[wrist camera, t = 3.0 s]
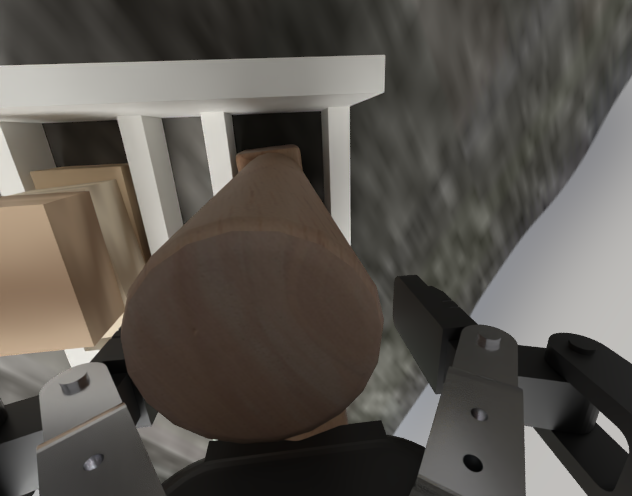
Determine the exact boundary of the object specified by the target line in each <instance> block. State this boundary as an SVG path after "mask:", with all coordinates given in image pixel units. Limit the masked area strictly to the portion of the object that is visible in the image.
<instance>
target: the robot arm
mask: <svg viewBox="0 0 632 496" xmlns="http://www.w3.org/2000/svg"><path fill="white" fill-rule="evenodd" d="M393 320H394V324H395V327H396V329H397V331H398V333H399V334H400V336H401V338H402V339H403V341H404V343H405V344H406V346H407V348H408V349H409V351H410V353H411V354H412V356H413V358H414V359H415V361H416V363H417V364H418V366H419V368H420V369H421V371H422V373H423V374H424V376H425V377H426V379H427V381H428V382H429V384H430V386H431V387H432V389H433V391H434V392H435V394H441V396H440V400H439V403H438V407H437V411H436V414H435V418H434V421H433V424H432V428H431V431H430V435H429V438H428V442H427V445H426V448H425V447H423V446H421V445H419V444H417V443H414V442H412V441H409V440H407V439H404V438H400V437H396V436H391V435H386V432H385V430H384V427H383V424H382V421H381V420H379V421H371V422H363V423H355V424H347V425H340V426H337V427H334V428H332V429H329V430H326V431H324V432H321V433H319V434H316V435H313V436H311V437H308V438H305V439H303V440H299V441H291V440H281V441H276V442H262V443H248V444H240V443H234V442H228V441H221V440H216V441H209V444H208V448H207V453H206V457H205V458H203V459H201V460H198V461H196V462H194V463H192V464H190V465H188V466H186V467H185V468H183V469H181V470H180V471H178V472H177V473H175V474H174V475H173V476H171V477H170V478H168V479H167V480H166V481H165V482H163V483H162V484H161V483H160V480H159V478H158V476H157V474H156V471H155V469H154V467H153V465H152V462H151V460H150V458H149V456H148V453H147V451H146V449H145V447H144V445H143V442H142V440H141V438H140V436H139V433H138V431H137V429H136V428H141V427H149V426H152V424H153V422H154V420H155V417H156V415H157V413H158V411H157V410H155V409H154V408H153V407H152V406H150V405H149V404H148V403H147V402H146V401H145V399H144V398H143V396H142V395H141V393H140V391H139V390H138V388H137V387H136V385H135V384H134V382H133V381H132V379H131V378H130V376H129V374H128V372H127V368H126V363H125V358H124V353H123V348H122V343H121V326H120V328H119V330H118V331H116V332H115V333H114V335H113V336H112V339H109V340H108V341H107V343H106V344H105V345H104V346H103V347H102V348H101V350H100V351H99V352H98V353H97V354H96V355H95V357H94V358H93V359H92V360H91V361H90V362H89V363H85V364H81V365H77V366H74V367H72V368H69V369H67V370H65V371H63V372H61V373H60V374H58V375H56V376H55V377H53V378H52V379H51V380H49V381H48V382H47V383H46V384H45V385H44V386H43V388H42V389H41V391H40V393H39V395H38V396H35V397H31V398H28V399H24V400H21V401H18V402H14V403H11V404H8V405H4V404H3V402H2V400H1V398H0V496H32V495H33V494H34V492H35V490H37V489H39V494H40V496H526V495H525V494H526V493H525V447H524V425H525V426H531V427H533V428H534V429H535V430H536V431H537V433H538V434H539V435H540V436H541V438H542V439H543V440H544V441H545V443H546V444H547V445H548V446H549V448H550V449H551V450H552V451H553V453H554V454H555V455H556V456H557V458H558V459H559V460H560V461H561V463H562V464H563V465H564V466H565V468H566V469H567V470H568V471H569V473H570V474H571V475H572V476H573V478H574V479H575V480H576V481H577V483H578V484H579V485H580V486H581V488H582V489H583V490H584V491H585V493H586V494H587V495H588V496H632V364H631V363H630V362H628V361H627V360H625V359H624V358H622V357H621V356H619V355H618V354H616V353H615V352H614V351H612V350H610V349H609V348H608V347H606V346H605V345H603V344H601V343H599V342H597V341H595V340H592V339H590V338H587V337H584V336H581V335H577V334H571V333H556V334H553V335H551V336H550V337H549V340H548V344H547V348H540V347H531V346H521V345H518V344H517V342H516V340H515V339H514V338H513V337H512V336H511V335H509V334H508V333H506V332H504V331H502V330H500V329H498V328H495V327H491V326H487V325H478V324H477V323H476V322H475V321H474V320H473V319H471V317H469V316H468V315H467V314H466V313H465V312H464V311H463V310H462V309H461V308H460V307H458V305H457V304H456V303H455V302H454V301H451V299H450V298H449V297H448V296H447V295H446V294H445V293H444V292H443V291H441V290H439V289H437V288H434V287H432V286H427V285H426V284H425V283H424V282H423V281H422V280H421V279H420V278H419V277H418V276H417V275H407V276H397V277H396V278H395V281H394V299H393ZM599 411H600V412H602V413H603V414H604V415H605V416H606V417H607V418H608V419H609V420H610V421H611V422H612V423H614V424H615V425H616V426H617V427H618V428H619V429H620V430H621V432H622V433H623V434H624V436H625V438H626V440H627V442H628V445H629V454H628V453H627V452H626V451H625V450H624V449H623V448H622V447H621V446H620V445H618V443H617V442H616V441H615V440H613V439H612V438H611V437H610V436H609V435H608V434H607V433H606V432H605V431H604V430H603V429H602V428H601V427H600V426H599V425H598V424H597V423H596V419H597V417H598V414H599Z"/></svg>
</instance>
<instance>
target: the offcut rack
mask: <svg viewBox="0 0 632 496" xmlns="http://www.w3.org/2000/svg"><path fill="white" fill-rule="evenodd" d="M384 84H385V55H361V56H325V57H290V58H254V59H219V60H183V61H148V62H112V63H77V64H41V65H6V66H0V192H1V195H2V196H8V195H13V194H17V193H22V192H26V191H31V190H36V188H35V185H34V183H33V180H32V177H31V174H30V172H31V171H38V170H44V169H51V168H56V165H55V162H54V159H53V156H52V153H51V150H50V147H49V144H48V141H47V138H46V135H45V132H44V129H43V126H42V123H61V122H84V121H107V120H118V124H119V128H120V132H121V136H122V140H123V144H124V148H125V152H126V156H127V160H128V164H129V168H130V172H131V176H132V180H133V184H134V188H135V192H136V196H137V200H138V204H139V208H140V212H141V216H142V220H143V224H144V228H145V232H146V236H147V240H148V244H149V248H150V252H151V256H152V255H153V254H154V253H155V252H156V251H157V250H158V249H159V248H160V247H161V246H162V245H163V244H164V243H165V242H166V241H167V240H169V239H170V238H171V237H172V236H173V235H174V234H175V233H176V232H177V231H178V230H179V229H180V228H181V227H182V226H183V221H182V216H181V211H180V206H179V202H178V197H177V192H176V187H175V182H174V177H173V172H172V167H171V162H170V158H169V153H168V148H167V143H166V138H165V133H164V128H163V123H162V119H161V118H175V117H198V116H201V121H202V127H203V133H204V139H205V145H206V151H207V157H208V163H209V170H210V176H211V182H212V188H213V194H214V196H215V195H216V194H217V193H218V192H219V191H220V190H221V189H222V188H223V187H224V186H225V185H226V184H227V183H228V182H229V181H230V180H231V179H232V178H234V177H235V176H236V175H237V174H238V169H237V164H236V154H237V153H236V145H235V137H234V130H233V122H232V115H243V114H266V113H289V112H312V111H321V123H322V150H323V176H324V203H325V207H326V209H327V210H328V212H329V213H330V215H331V216H332V218H333V220H334V221H335V223H336V224H337V226H338V227H339V229H340V230H341V232H342V234H343V235H344V237H345V238H346V240H347V241H348V243H349V245H350V246H351V219H350V106H352V105H354V104H357V103H359V102H362V101H364V100H367V99H369V98H372V97H374V96H377V95H379V94H382V93H384ZM109 339H112V337H108V338H102V339H100V340H99V341H98V343H97V344H96V345H95V346H94V347H84V348H75V349H65V353H66V355H67V358H68V360H69V363H70V365H71V368H72V367H74V366H77V365H81V364H85V363H89V362H90V361H91V360H92V359H93V358H94V357H95V355H96V354H97V353H98V352H99V351H100V350H101V348H102V347H103V346H104V345H105V344H106V343H107V341H108V340H109Z"/></svg>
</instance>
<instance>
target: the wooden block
mask: <svg viewBox="0 0 632 496" xmlns="http://www.w3.org/2000/svg"><path fill="white" fill-rule="evenodd" d="M236 164H237V169H238V174H237V175H236V176H235V177H234V178H232V179H231V180H230V181H229V182H228V183H227V184H226V185H225V186H224V187H223V188H222V189H221V190H220V191H219V192H218V193H217V194H216V195H215V196H214V197H213V198H212V199H210V200H209V201H208V202H207V203H206V204H205V205H204V206H203V207H202V208H201V209H200V210H199V211H198V212H197V213H196V214H195V215H194V216H193V217H192V218H191V219H189V220H188V221H187V222H186V223H185V224H184V225H183V226H182V227H181V228H180V229H179V230H178V231H177V232H176V233H175V234H174V235H173V236H172V237H171V238H170V239H169V240H167V241H166V242H165V243H164V244H163V245H162V246H161V247H160V248H159V249H158V250H157V251H156V252H155V253H154V254H153V255H152V256H151V257H150V259H149V260H148V262H147V263H146V265H145V266H144V268H143V269H142V270H141V272H140V273H139V275H138V276H137V278H136V279H135V281H134V282H133V284H132V285H131V287H130V288H129V290H128V295H127V300H126V305H125V310H124V315H123V319H122V324H121V343H122V348H123V353H124V358H125V363H126V368H127V372H128V374H129V376H130V378H131V379H132V381H133V382H134V384H135V385H136V387H137V388H138V390H139V391H140V393H141V395H142V396H143V398H144V399H145V401H146V402H147V403H148V404H149V405H150V406H152V407H153V408H154V409H155V410H157V411H158V412H159V413H160V414H162V415H163V416H164V417H166V418H167V419H168V420H169V421H171V422H172V423H173V424H174V425H177V426H179V427H182V428H184V429H186V430H189V431H191V432H193V433H196V434H198V435H201V436H203V437H205V438H208V439H215V440H221V441H228V442H234V443H240V444H248V443H262V442H276V441H281V440H291V441H299V440H303V439H305V438H308V437H311V436H313V435H316V434H319V433H321V432H324V431H326V430H329V429H332V428H334V427H337V426H340V425H347V424H348V418H347V413H346V408H347V407H348V406H349V405H350V404H351V403H352V402H353V401H354V400H355V399H356V398H357V397H358V396H359V395H360V394H361V393H362V391H363V390H364V388H365V386H366V384H367V382H368V381H369V379H370V377H371V375H372V373H373V371H374V369H375V367H376V365H377V363H378V358H379V351H380V344H381V337H382V329H383V322H384V318H383V314H382V309H381V305H380V300H379V296H378V292H377V287H376V285H375V284H374V282H373V280H372V279H371V277H370V276H369V274H368V273H367V271H366V270H365V268H364V266H363V265H362V263H361V262H360V260H359V259H358V257H357V255H356V254H355V252H354V251H353V249H352V248H351V246H350V245H349V243H348V241H347V240H346V238H345V237H344V235H343V234H342V232H341V230H340V229H339V227H338V226H337V224H336V223H335V221H334V220H333V218H332V216H331V215H330V213H329V212H328V210H327V209H326V207H325V205H324V204H323V202H322V201H321V199H320V198H319V196H318V195H317V193H316V191H315V190H314V188H313V187H312V185H311V184H310V182H309V180H308V179H307V177H306V176H305V174H304V173H303V169H302V161H301V153H300V149H299V147H298V146H296V145H294V144H288V145H280V146H272V147H264V148H255V149H247V150H244V151H242V152H240V153H238V154H236Z"/></svg>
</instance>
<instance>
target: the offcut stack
mask: <svg viewBox="0 0 632 496" xmlns="http://www.w3.org/2000/svg"><path fill="white" fill-rule="evenodd" d="M30 174H31V177H32V180H33V183H34V185H35V188H36V190H31V191H26V192H22V193H17V194H13V195H8V196H0V356H8V355H18V354H27V353H37V352H46V351H56V350H65V349H75V348H84V347H94V346H95V345H96V344H97V343H98V341H99V340H100V339H102V338H108V337H112V336H113V335H114V333H115V332H116V331H118V330H119V328H120V326H121V324H122V319H123V315H124V310H125V305H126V300H127V295H128V290H129V288H130V287H131V285H132V284H133V282H134V281H135V279H136V278H137V276H138V275H139V273H140V272H141V270H142V269H143V268H144V266H145V265H146V263H147V262H148V260H149V259H150V257H151V252H150V248H149V244H148V240H147V236H146V232H145V228H144V224H143V220H142V216H141V212H140V208H139V204H138V200H137V196H136V192H135V188H134V184H133V180H132V176H131V172H130V168H129V164H128V163H117V164H99V165H82V166H65V167H58V168H51V169H44V170H38V171H31V172H30Z"/></svg>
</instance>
